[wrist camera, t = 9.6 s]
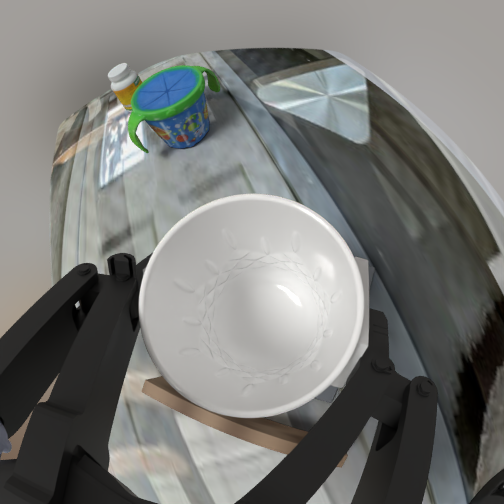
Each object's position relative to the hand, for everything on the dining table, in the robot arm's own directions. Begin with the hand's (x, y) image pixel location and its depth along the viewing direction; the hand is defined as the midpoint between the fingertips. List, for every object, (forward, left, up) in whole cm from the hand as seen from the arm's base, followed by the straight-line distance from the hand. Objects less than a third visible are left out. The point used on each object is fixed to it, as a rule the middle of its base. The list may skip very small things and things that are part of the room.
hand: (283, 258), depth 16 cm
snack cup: (+22, -19, -17) cm, 34 cm away
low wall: (-1, +15, -16) cm, 22 cm away
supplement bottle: (+37, -25, -17) cm, 48 cm away
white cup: (0, +3, -4) cm, 5 cm away
